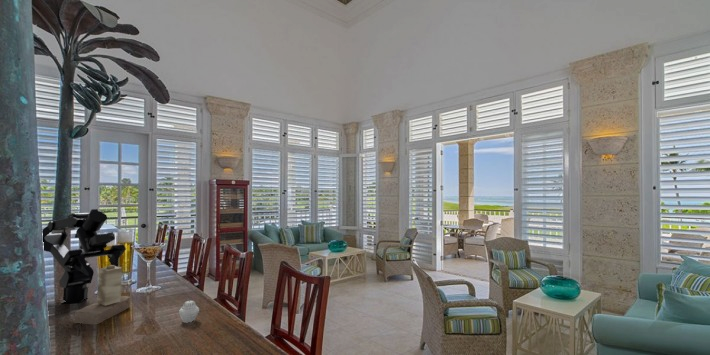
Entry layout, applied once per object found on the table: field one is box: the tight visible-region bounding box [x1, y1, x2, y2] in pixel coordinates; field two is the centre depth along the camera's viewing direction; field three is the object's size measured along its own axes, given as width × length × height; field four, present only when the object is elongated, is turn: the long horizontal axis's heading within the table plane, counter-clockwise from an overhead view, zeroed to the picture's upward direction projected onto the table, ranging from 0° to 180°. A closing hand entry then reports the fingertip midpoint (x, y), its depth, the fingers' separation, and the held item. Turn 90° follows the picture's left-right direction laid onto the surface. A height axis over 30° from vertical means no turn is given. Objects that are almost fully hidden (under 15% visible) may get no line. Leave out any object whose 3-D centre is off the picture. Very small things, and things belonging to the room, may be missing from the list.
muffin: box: [178, 300, 200, 324], centre depth 116 cm, size 6×6×7 cm
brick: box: [73, 295, 131, 325], centre depth 119 cm, size 17×8×5 cm, turn 0°
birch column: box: [96, 264, 123, 306], centre depth 120 cm, size 5×5×13 cm
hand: (103, 272), depth 124 cm, fingers open, 9 cm apart
